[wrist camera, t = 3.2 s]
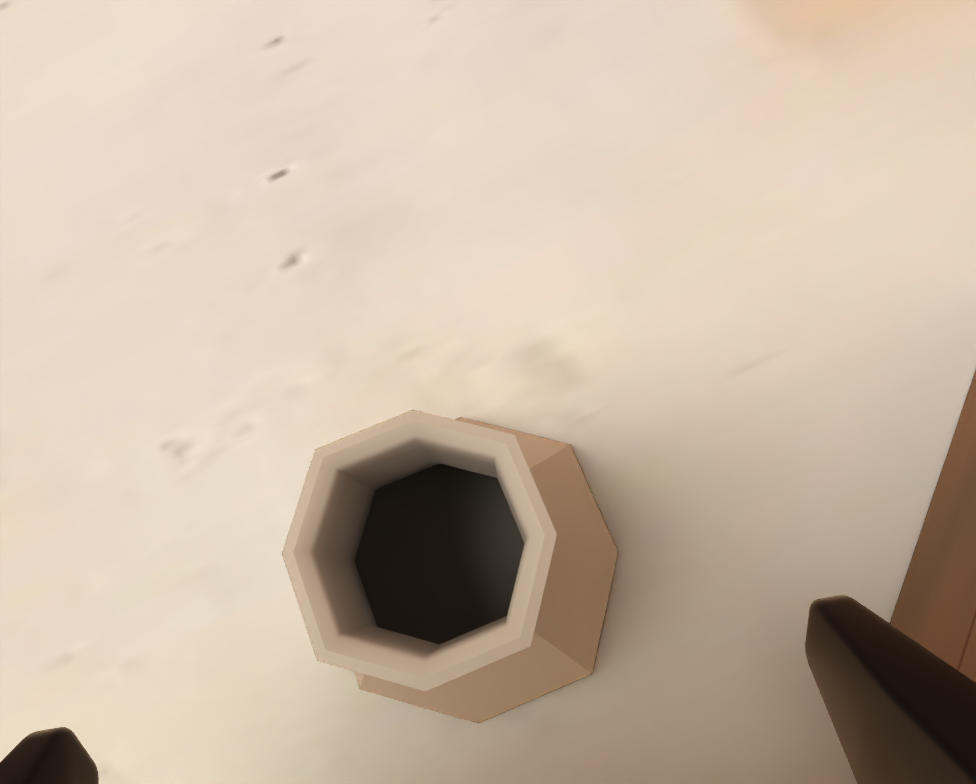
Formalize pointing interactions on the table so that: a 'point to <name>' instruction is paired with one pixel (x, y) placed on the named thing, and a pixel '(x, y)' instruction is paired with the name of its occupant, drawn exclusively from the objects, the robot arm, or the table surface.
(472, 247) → the table surface
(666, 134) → the table surface
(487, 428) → the flask
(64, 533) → the table surface
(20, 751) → the robot arm
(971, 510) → the spice rack
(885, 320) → the table surface
